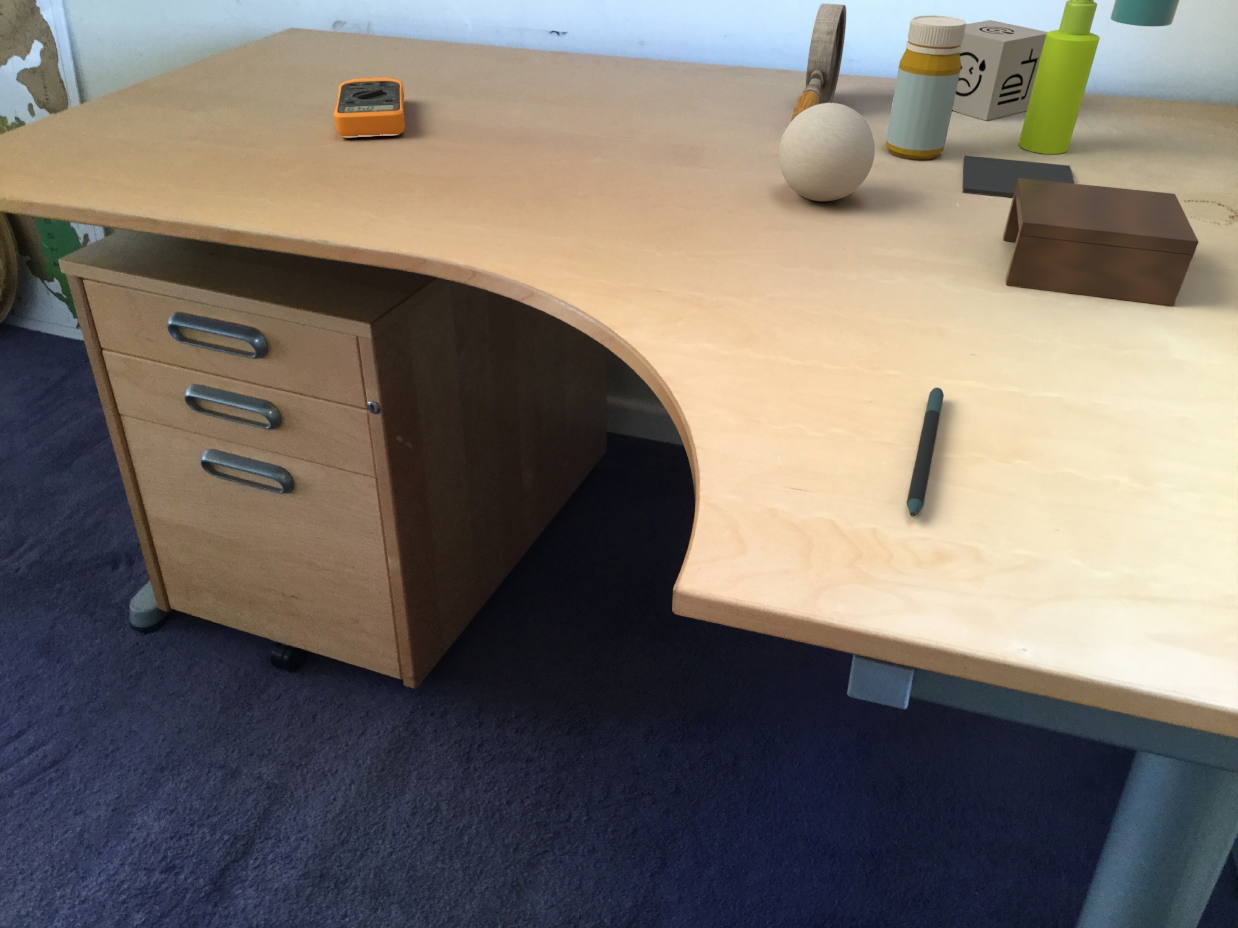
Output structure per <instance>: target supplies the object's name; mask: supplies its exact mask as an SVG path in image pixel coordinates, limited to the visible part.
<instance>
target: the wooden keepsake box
mask: <svg viewBox="0 0 1238 928" xmlns="http://www.w3.org/2000/svg"><path fill="white" fill-rule="evenodd" d="M1010 204H1011V205H1010V207H1009V211H1008V215H1007V218H1006V222H1005V227H1004V230H1003V234H1002V240H1003V241H1005V242H1013V243H1015V244H1014V247H1013V251H1012V254H1011V258H1010V262H1009V265H1008V269H1007V274H1006V277H1005V286H1011V287H1020V288H1027V289H1034V290H1043V291H1051V292H1057V293H1058V292H1059V293H1065V294H1066V293H1067V294H1073V295H1081V296H1090V297H1098V298H1106V299H1114V300H1122V301H1129V302H1136V303H1138V302H1139V303H1143V304H1144V303H1145V304H1152V305H1153V304H1154V305H1160V306H1170V307H1174V306H1175V304H1176V301H1177V299H1178V297H1179V293H1180V291H1181V289H1182V286H1183V284H1184V281H1185V278H1186V276H1187V274H1188V271H1189V267H1190V265H1191V263H1192V260H1193V257H1194V255H1195V252H1196V250H1197V247H1198V245H1199V243H1200V242H1199V239H1198V238H1197V236H1196V234H1195V231H1194V229H1193V227H1192V225H1191V223H1190V221H1189V219H1188V217H1187V215H1186V213H1185V211H1184V208H1183V206H1182V205H1181V203H1180V201H1179V199H1178V197H1177V195H1176V193H1171V192H1162V191H1161V192H1160V191H1151V190H1140V189H1131V188H1122V187H1111V186H1110V187H1109V186H1102V185H1092V184H1081V183H1074V184H1073V183H1063V182H1053V181H1043V180H1033V179H1023V178H1018V180H1017V184H1016V187H1015V191H1014V195H1013V197H1012V200H1011V203H1010Z"/></svg>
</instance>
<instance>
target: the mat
mask: <svg viewBox="0 0 1238 928" xmlns="http://www.w3.org/2000/svg"><path fill="white" fill-rule="evenodd" d="M962 168H963V170H962V171H963V172H962V173H963V174H962V175H963V176H962V193H966V194H967V193H968V194H976V195H985V196H986V195H987V196H994V197H995V196H997V197H1005V198H1013V195H1014V191H1015V187H1016V184H1017V180H1018V178H1023V179H1033V180H1043V181H1053V182H1063V183H1073V184H1075V181H1074V176H1073V173H1072V169H1071V165H1070V164H1069V165H1067V164H1056V163H1047V162H1037V161H1029V160H1028V161H1027V160H1026V161H1025V160H1017V159H1007V158H997V157H986V156H975V155H966V154H965V155H964V156H963V167H962Z"/></svg>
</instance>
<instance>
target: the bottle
mask: <svg viewBox="0 0 1238 928" xmlns="http://www.w3.org/2000/svg"><path fill="white" fill-rule="evenodd" d="M909 21H910V22H909V28H908V32H907V41H906V46H905V47H906V48H905V50H904V52H903V54H902V56H901V58H900V60H899V64H898V69H897V75H896V80H895V86H894V93H893V98H892V103H891V108H890V115H889V121H888V126H887V133H886V138H885V139H886V140H885V147H886V148H887V150H888V152H889V153H890V154H891V155H894V156H896V157H898V158H901V159H907V160H920V161H921V160H932V159H935V158H937V157H938V156H939V155H940V154H942V153H943V151H944V149H945V145H946V142H947V141H946V140H947V137H948V132H949V127H950V122H951V117H952V113H953V111H952V108H953V104H954V99H955V94H956V89H957V85H958V80H959V75H960V69H961V61H960V53H959V52H960V50H961V43H962V41H963V37H964V32H965V27H966V24H967V22H966V20H964V19H962V18H958V17H954V16H948V15H933V14H931V15H930V14H929V15H917V16H916V15H915V16H913V17H911V20H909Z"/></svg>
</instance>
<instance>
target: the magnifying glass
mask: <svg viewBox="0 0 1238 928" xmlns="http://www.w3.org/2000/svg"><path fill="white" fill-rule="evenodd" d="M846 25H847V6H846V5H845V4H837V3H821V4H820V5H819V7H818V10H817V13H816V16H815V19H814V24H813V27H812V31H811V32H812V33H811V38H810V43H809V50H808V56H807V64H806V75H805V76H806V77H805V87H804V89H803V90H802V93H801V95H800V96H799V98H798V100H797V101H796V104H795V106H794V109H793V112H792V116H791V118H790V123H791V121H792V120H793V119H794V118H795V117H796V116H797V115H799V114H800V113H801V112H803V111H804V110H806V109H808V108H810V107H812V106H815V105H818V104H823V103H833V101H834V98H835V95H836V89H837V85H838V82H839V76H840V70H841V65H842V59H843V53H844V52H843V51H844V46H845V37H846V29H847V28H846V27H847V26H846ZM790 123H789V124H790Z"/></svg>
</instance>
